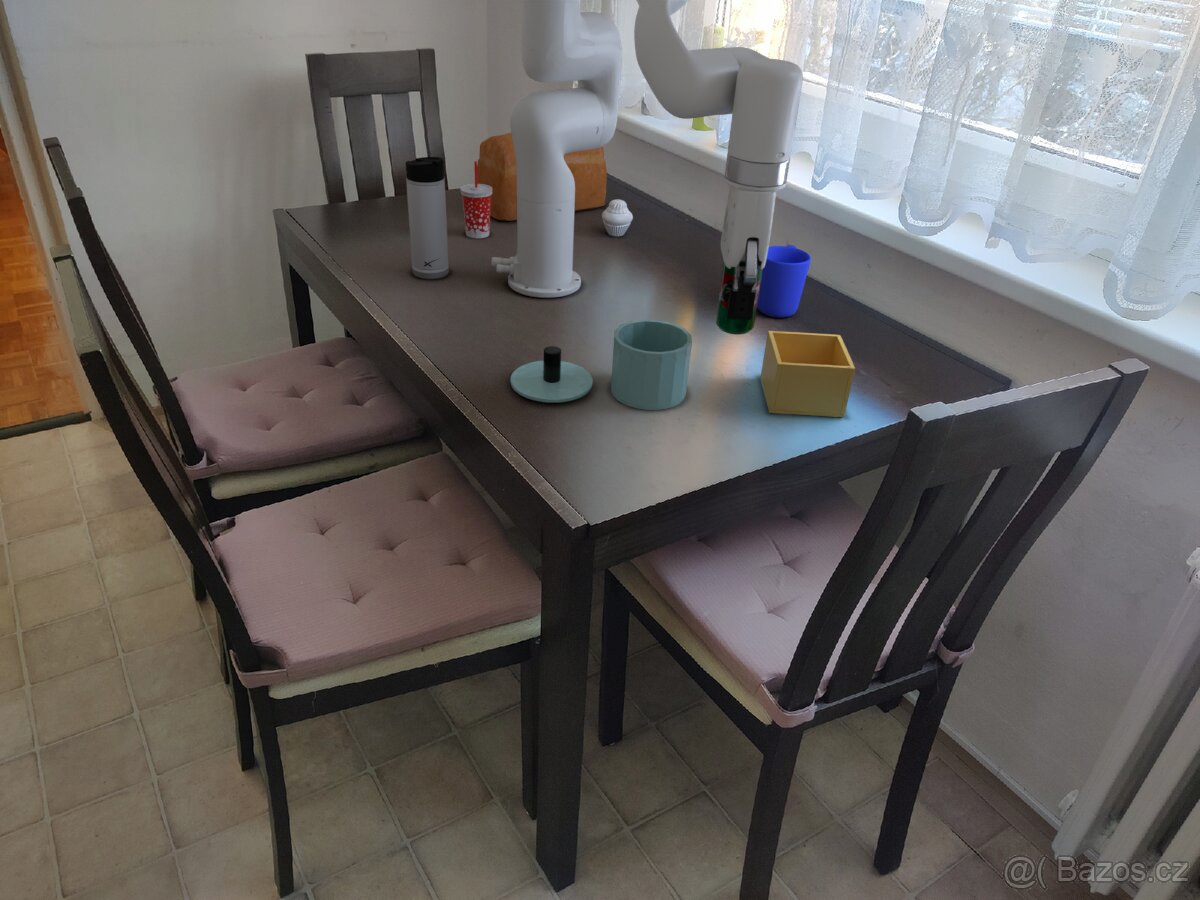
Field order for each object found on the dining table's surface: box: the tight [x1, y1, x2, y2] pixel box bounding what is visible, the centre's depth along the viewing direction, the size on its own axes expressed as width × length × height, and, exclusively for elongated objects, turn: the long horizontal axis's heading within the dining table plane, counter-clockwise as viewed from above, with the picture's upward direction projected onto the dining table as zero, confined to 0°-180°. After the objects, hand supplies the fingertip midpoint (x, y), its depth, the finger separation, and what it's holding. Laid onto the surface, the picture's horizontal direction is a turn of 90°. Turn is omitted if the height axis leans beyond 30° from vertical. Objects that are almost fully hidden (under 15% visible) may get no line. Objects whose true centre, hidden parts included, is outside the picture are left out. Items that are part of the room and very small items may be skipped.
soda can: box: [715, 261, 763, 336], centre depth 116 cm, size 5×5×12 cm
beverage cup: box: [459, 160, 493, 239], centre depth 170 cm, size 6×6×14 cm
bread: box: [477, 132, 608, 222], centre depth 186 cm, size 14×26×16 cm, turn 122°
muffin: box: [601, 198, 634, 237], centre depth 176 cm, size 6×6×7 cm
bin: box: [759, 330, 856, 418], centre depth 123 cm, size 10×10×8 cm
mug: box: [757, 244, 812, 319], centre depth 149 cm, size 8×12×10 cm
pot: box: [610, 319, 693, 411], centre depth 122 cm, size 10×10×8 cm
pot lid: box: [510, 345, 594, 403], centre depth 123 cm, size 11×11×6 cm
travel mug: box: [405, 156, 450, 280], centre depth 151 cm, size 6×7×20 cm
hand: (737, 307), depth 118 cm, fingers closed on soda can, 5 cm apart
